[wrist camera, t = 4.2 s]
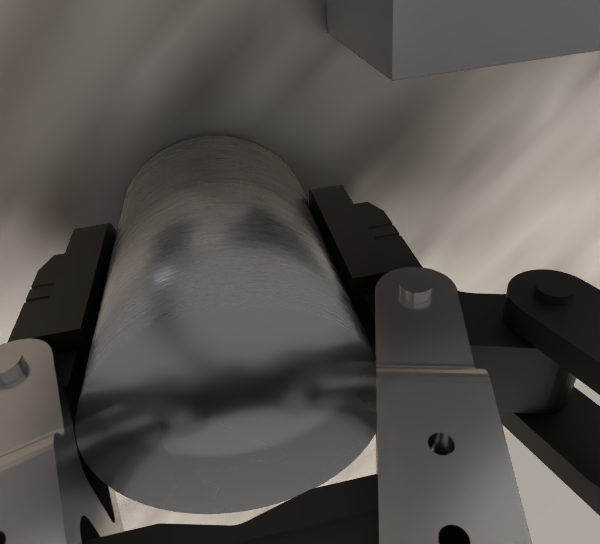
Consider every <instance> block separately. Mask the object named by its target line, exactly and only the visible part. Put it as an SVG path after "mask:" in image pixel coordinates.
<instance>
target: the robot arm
mask: <svg viewBox="0 0 600 544" xmlns="http://www.w3.org/2000/svg"><path fill="white" fill-rule="evenodd" d="M309 204H310V207H311V210H312V212H313V214H314V216H315V219H316V221H317V223H318V226H319V228H320V230H321V232H322V235H323V237H324V239H325V242H326V244H327V246H328V248H329V251H330V253H331V255H332V257H333V260H334V262H335V264H336V267H337V269H338V271H339V273H340V276H341V278H342V280H343V283H344V285H345V287H346V289H347V292H348V294H349V296H350V299H351V301H352V303H353V305H354V308H355V310H356V312H357V314H358V317H359V319H360V321H361V324H362V326H363V328H364V330H365V333H366V335H367V337H368V340H369V342H370V344H371V346H372V349H373V351H374V353H375V356H376V474H375V475H370V476H366V477H362V478H357V479H353V480H348V481H344V482H340V483H335V484H331V485H327V486H322V487H318V488H313V489H310V490H308V491H306V492H304V493H302V494H300V495H298V496H296V497H294V498H292V499H290V500H288V501H286V502H284V503H282V504H280V505H278V506H276V507H274V508H272V509H270V510H268V511H266V512H264V513H262V514H260V515H258V516H257V517H255V518H253V519H251V520H249V521H247V522H244V523H242V524H239V525H232V526H225V525H192V524H155V525H151V526H147V527H142V528H138V529H134V530H129V531H125V532H124V529H123V525H122V520H121V516H120V512H119V507H118V503H117V499H116V494H115V490H113V489H112V488H111V487H109V486H108V485H106V484H105V483H104V482H102V481H101V480H100V479H99V478H98V477H97V476H96V475H95V474H94V473H93V472H92V470H91V469H90V468H89V466H88V465H87V463H86V462H85V461H84V459H83V457H82V454H81V452H80V450H79V448H78V444H77V440H76V435H75V417H76V412H77V407H78V402H79V398H80V393H81V389H82V384H83V380H84V376H85V371H86V367H87V362H88V358H89V353H90V349H91V345H92V340H93V336H94V331H95V327H96V322H97V318H98V314H99V309H100V305H101V300H102V296H103V292H104V287H105V283H106V278H107V274H108V269H109V265H110V261H111V256H112V252H113V247H114V243H115V238H116V234H117V233H116V230H115V228H114V227H113V225H112V224H111V223H108V224H102V225H96V226H90V227H84V228H78V229H75V230H74V231H73V234H72V236H71V239H70V242H69V244H68V247H67V250H66V253H65V254H59V255H54V256H53V257H52V258H51V259H50V260H49V261H48V262H47V263H46V264H45V265H44V266H43V267H42V268H41V269H40V270H38V272H37V275H36V277H35V279H34V282H33V284H32V286H31V287H32V289H31V290H30V291H29V293H28V296H27V298H26V303H24V305H23V307H22V310H21V312H20V314H19V317H18V319H17V321H16V324H15V326H14V328H13V331H12V333H11V335H10V338H9V340H8V342H7V343H5V344H2V345H0V544H532V541H531V537H530V534H529V529H528V526H527V522H526V518H525V514H524V510H523V506H522V502H521V498H520V494H519V490H518V486H517V482H516V478H515V475H514V471H513V467H512V463H511V459H510V455H509V451H508V447H507V443H506V439H505V435H504V431H503V427H502V424H503V425H504V426H505V427H506V428H507V429H508V430H509V431H510V432H511V433H512V434H513V435H514V436H515V437H516V438H517V439H519V440H520V441H521V442H522V443H523V444H524V445H525V446H526V447H527V448H528V449H529V450H530V451H531V452H533V454H535V455H536V456H537V457H538V458H539V459H540V460H541V461H542V462H543V463H544V464H545V465H546V466H547V467H548V468H549V469H550V470H552V471H553V472H554V473H555V474H556V475H557V476H558V477H559V478H560V479H561V480H562V481H563V482H564V483H565V484H566V485H568V486H569V487H570V488H571V489H572V490H573V491H574V492H575V493H576V494H577V495H578V496H579V497H580V498H581V499H582V500H584V501H585V502H586V503H587V504H588V505H589V506H590V507H591V508H592V509H593V510H594V511H596V513H597V514H598V515H600V406H599V405H597V404H596V403H595V402H593V401H592V400H591V399H590V398H588V397H587V396H586V395H584V394H583V393H582V392H580V391H579V390H578V389H576V388H575V387H574V383H575V380H576V378H577V379H579V380H580V381H581V382H583V383H584V384H586V385H587V386H588V387H590V388H591V389H592V390H594V391H595V392H597V393H598V394H599V395H600V290H599V289H597V288H596V287H594V286H592V285H590V284H589V283H587V282H585V281H583V280H581V279H579V278H577V277H575V276H573V275H570V274H567V273H563V272H559V271H554V270H530V271H526V272H523V273H520V274H518V275H516V276H515V277H514V278H512V279H511V281H510V282H509V284H508V288H507V293H506V294H476V293H466V292H460V291H457V288H456V286H455V284H454V283H453V281H452V280H450V279H449V278H448V277H447V276H445V275H444V274H442V273H440V272H438V271H435V270H432V269H428V268H423V267H422V266H421V264H420V263H419V261H418V260H417V258H416V257H415V256H414V254H413V253H412V251H411V250H410V248H409V247H408V245H407V244H406V243H405V241H404V240H403V238H402V237H401V236H399V232H398V231H397V229H396V228H395V227H394V226H392V222H391V221H390V219H389V218H388V216H387V215H386V214H385V212H384V211H383V210H381V209H379V208H378V207H376V206H374V205H372V204H371V203H369V202H363V203H357V204H353V202H352V201H351V199H350V197H349V196H348V194H347V192H346V191H345V189H344V187H343V186H342V185H336V186H330V187H324V188H319V189H313V190H310V191H309Z"/></svg>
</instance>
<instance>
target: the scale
mask: <svg viewBox="0 0 600 544" xmlns="http://www.w3.org/2000/svg"><path fill="white" fill-rule="evenodd" d="M326 10H327V29H328V33H329V34H330V35H332V36H333V37H334V38H336V39H337V40H338V41H340V42H341V43H342V44H344V45H345V46H346V47H348V48H349V49H350V50H352V51H353V52H354V53H356V54H357V55H358V56H360V57H361V58H362V59H364V60H365V61H366V62H368V63H369V64H371V65H372V66H373V67H375V68H376V69H377V70H379V71H380V72H381V73H383V74H384V75H385V76H387V77H388V78H389V79H391V80H392V81H393V80H400V79H407V78H414V77H420V76H427V75H434V74H441V73H448V72H454V71H461V70H468V69H475V68H482V67H489V66H495V65H502V64H509V63H516V62H523V61H530V60H536V59H543V58H550V57H557V56H564V55H571V54H577V53H584V52H591V51H598V50H600V0H326Z"/></svg>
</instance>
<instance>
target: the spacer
mask: <svg viewBox="0 0 600 544" xmlns="http://www.w3.org/2000/svg"><path fill="white" fill-rule="evenodd" d="M375 434H376V356H375V353H374V351H373V349H372V346H371V344H370V342H369V340H368V337H367V335H366V333H365V330H364V328H363V326H362V324H361V321H360V319H359V317H358V314H357V312H356V310H355V308H354V305H353V303H352V301H351V299H350V296H349V294H348V292H347V289H346V287H345V285H344V283H343V280H342V278H341V276H340V273H339V271H338V269H337V267H336V264H335V262H334V260H333V257H332V255H331V253H330V251H329V248H328V246H327V244H326V242H325V239H324V237H323V235H322V232H321V230H320V228H319V226H318V223H317V221H316V219H315V216H314V214H313V212H312V210H311V207H310V205H309V203H308V200H307V198H306V196H305V194H304V191H303V189H302V187H301V185H300V183H299V181H298V179H297V178H296V176H295V175H294V173H293V172H292V170H291V169H290V168H289V167H288V166H287V165H286V164H285V163H284V162H283V161H282V160H281V159H280V158H279V157H277V156H276V155H275V154H274V153H272V152H271V151H269V150H267V149H266V148H264V147H262V146H260V145H258V144H255V143H253V142H250V141H247V140H244V139H240V138H235V137H229V136H202V137H196V138H191V139H187V140H184V141H181V142H178V143H175V144H173V145H171V146H169V147H167V148H165V149H163V150H162V151H160V152H159V153H157V154H156V155H155V156H153V157H152V158H151V159H150V160H148V161H147V162H146V163H145V164H144V165H143V166H142V167H141V169H140V170H139V171H138V172H137V174H136V175H135V176H134V178H133V180H132V182H131V184H130V185H129V187H128V190H127V193H126V195H125V199H124V203H123V207H122V212H121V216H120V221H119V225H118V230H117V234H116V238H115V243H114V247H113V252H112V256H111V261H110V265H109V269H108V274H107V278H106V283H105V287H104V292H103V296H102V300H101V305H100V309H99V314H98V318H97V322H96V327H95V331H94V336H93V340H92V345H91V349H90V353H89V358H88V362H87V367H86V371H85V376H84V380H83V384H82V389H81V393H80V398H79V402H78V407H77V412H76V417H75V435H76V440H77V444H78V448H79V450H80V452H81V454H82V457H83V459H84V461H85V462H86V463H87V465H88V466H89V468H90V469H91V470H92V472H93V473H94V474H95V475H96V476H97V477H98V478H99V479H100V480H101V481H102V482H104V483H105V484H106V485H108V486H109V487H111V488H112V489H113V490H115V491H117V492H118V493H120V494H122V495H124V496H126V497H128V498H130V499H132V500H135V501H137V502H140V503H142V504H145V505H149V506H152V507H155V508H159V509H164V510H169V511H174V512H183V513H192V514H219V513H232V512H240V511H247V510H252V509H257V508H262V507H266V506H269V505H273V504H277V503H280V502H283V501H286V500H289V499H291V498H294V497H296V496H298V495H300V494H302V493H304V492H306V491H308V490H310V489H313V488H316V487H318V486H319V485H321V484H323V483H325V482H326V481H328V480H329V479H331V478H332V477H334V476H336V475H337V474H338V473H340V472H341V471H342V470H343V469H345V468H346V467H347V466H349V465H350V464H351V463H352V462H353V461H354V460H355V459H356V458H357V457H358V456H359V455H360V454H361V453H362V451H363V450H364V449H365V448H366V447H367V446H368V444H369V443H370V441H371V440H372V438H373V437H374V435H375Z"/></svg>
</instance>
